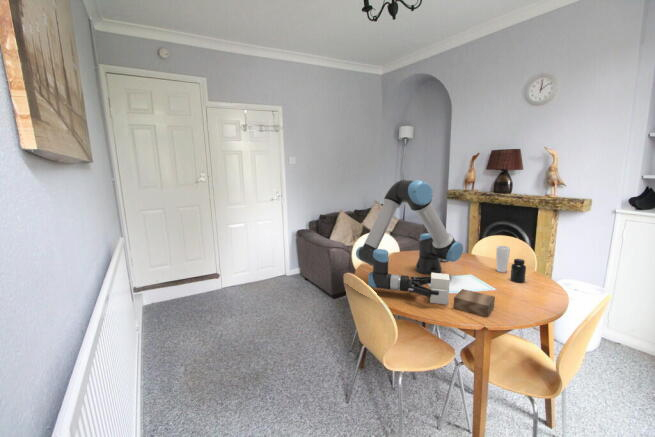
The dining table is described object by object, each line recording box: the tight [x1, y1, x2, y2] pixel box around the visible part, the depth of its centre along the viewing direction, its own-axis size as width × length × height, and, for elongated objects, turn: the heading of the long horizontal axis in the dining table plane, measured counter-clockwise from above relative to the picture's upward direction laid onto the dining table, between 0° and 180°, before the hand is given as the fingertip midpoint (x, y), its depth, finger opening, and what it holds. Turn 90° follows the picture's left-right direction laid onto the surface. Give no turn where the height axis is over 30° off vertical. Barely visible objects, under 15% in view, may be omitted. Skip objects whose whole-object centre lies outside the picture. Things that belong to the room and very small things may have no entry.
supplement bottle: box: [510, 258, 527, 283], centre depth 168 cm, size 7×7×12 cm
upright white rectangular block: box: [429, 272, 451, 306], centre depth 145 cm, size 8×8×12 cm
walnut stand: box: [453, 288, 496, 318], centre depth 138 cm, size 14×12×5 cm
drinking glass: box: [496, 245, 511, 273], centre depth 183 cm, size 7×7×15 cm
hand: (446, 287), depth 144 cm, fingers open, 13 cm apart
